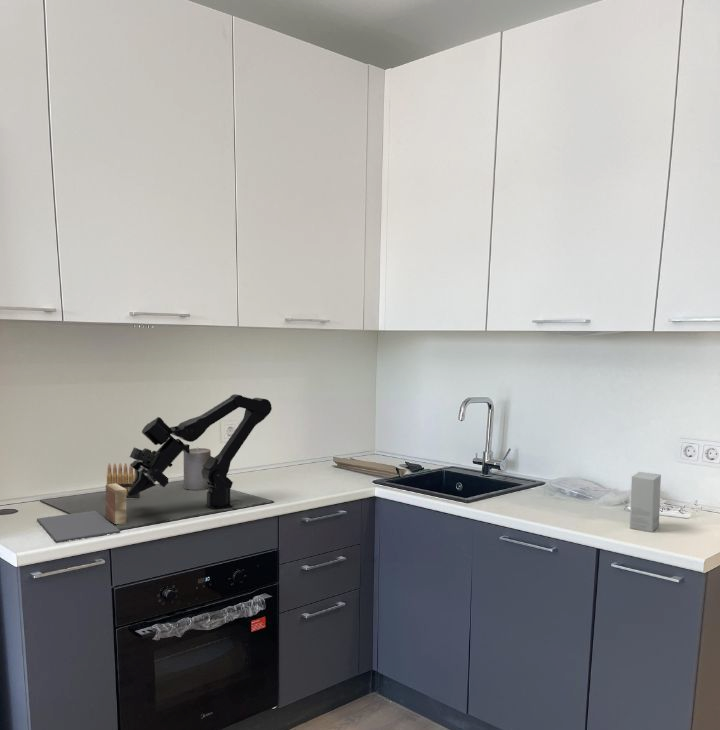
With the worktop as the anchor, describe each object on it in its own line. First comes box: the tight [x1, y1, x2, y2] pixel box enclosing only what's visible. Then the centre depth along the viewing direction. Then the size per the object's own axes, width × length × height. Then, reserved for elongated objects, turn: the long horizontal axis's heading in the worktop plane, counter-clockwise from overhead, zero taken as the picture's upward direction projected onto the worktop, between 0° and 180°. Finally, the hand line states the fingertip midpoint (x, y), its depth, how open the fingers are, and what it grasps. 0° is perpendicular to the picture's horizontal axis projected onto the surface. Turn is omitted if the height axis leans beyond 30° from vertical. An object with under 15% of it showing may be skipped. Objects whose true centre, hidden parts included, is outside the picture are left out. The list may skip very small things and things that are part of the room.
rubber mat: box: [36, 510, 121, 544], centre depth 176 cm, size 16×26×1 cm, turn 37°
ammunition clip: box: [106, 462, 141, 499], centre depth 210 cm, size 11×2×12 cm, turn 96°
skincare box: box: [629, 471, 662, 533], centre depth 182 cm, size 8×7×16 cm
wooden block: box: [105, 483, 127, 525], centre depth 182 cm, size 3×10×10 cm, turn 37°
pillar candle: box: [183, 446, 212, 491], centre depth 227 cm, size 10×10×15 cm
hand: (128, 495), depth 184 cm, fingers closed
